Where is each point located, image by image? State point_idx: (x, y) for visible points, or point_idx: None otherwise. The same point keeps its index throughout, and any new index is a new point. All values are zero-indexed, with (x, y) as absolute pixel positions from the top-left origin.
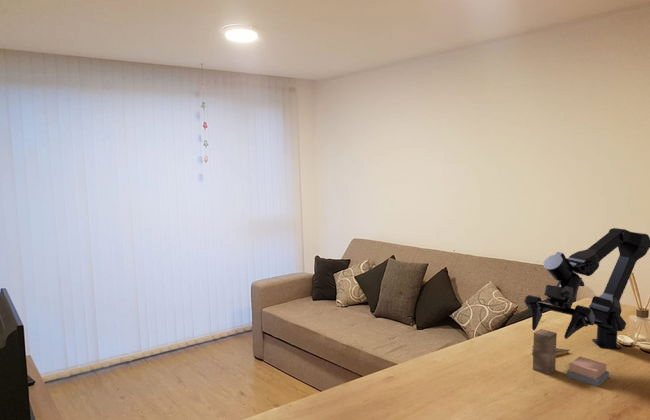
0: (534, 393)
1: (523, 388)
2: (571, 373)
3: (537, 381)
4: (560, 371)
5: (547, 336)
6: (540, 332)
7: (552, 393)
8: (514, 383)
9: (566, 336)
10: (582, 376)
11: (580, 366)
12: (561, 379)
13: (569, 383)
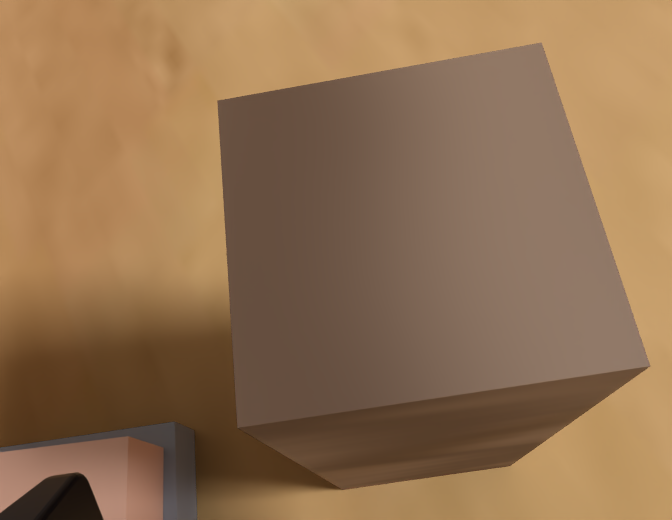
0: (224, 7)
1: (307, 2)
2: (135, 431)
3: None
4: (289, 496)
5: (262, 93)
6: (476, 152)
7: (145, 91)
8: (388, 7)
9: (35, 501)
10: (29, 443)
11: (5, 453)
12: (201, 337)
13: (124, 323)
